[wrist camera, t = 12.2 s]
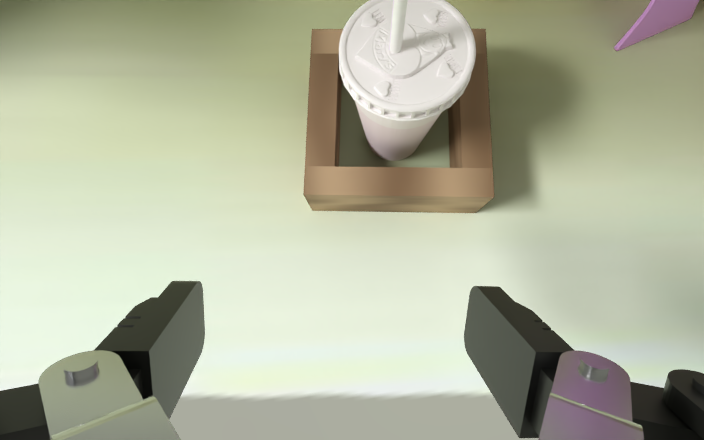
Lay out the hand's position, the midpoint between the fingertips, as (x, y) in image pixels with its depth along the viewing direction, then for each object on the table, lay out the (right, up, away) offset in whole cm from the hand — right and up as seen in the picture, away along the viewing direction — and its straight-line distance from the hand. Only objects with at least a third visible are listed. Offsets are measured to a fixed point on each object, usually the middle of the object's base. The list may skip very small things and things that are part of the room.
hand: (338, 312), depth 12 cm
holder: (+3, +9, +16) cm, 19 cm away
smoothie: (+3, +9, +16) cm, 18 cm away
